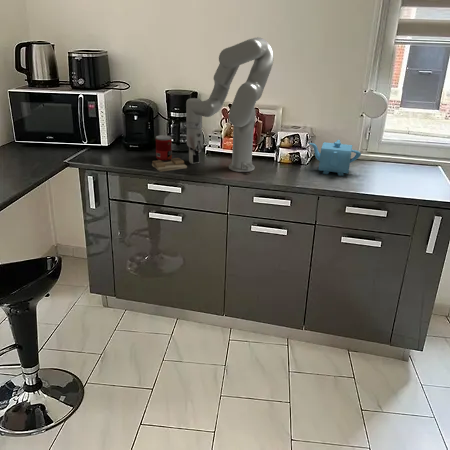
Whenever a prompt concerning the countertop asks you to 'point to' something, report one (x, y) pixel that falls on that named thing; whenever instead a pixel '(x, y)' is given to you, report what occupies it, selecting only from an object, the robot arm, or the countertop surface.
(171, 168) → the board
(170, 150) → the canned food
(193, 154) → the tab
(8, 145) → the countertop surface
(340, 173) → the teakettle
